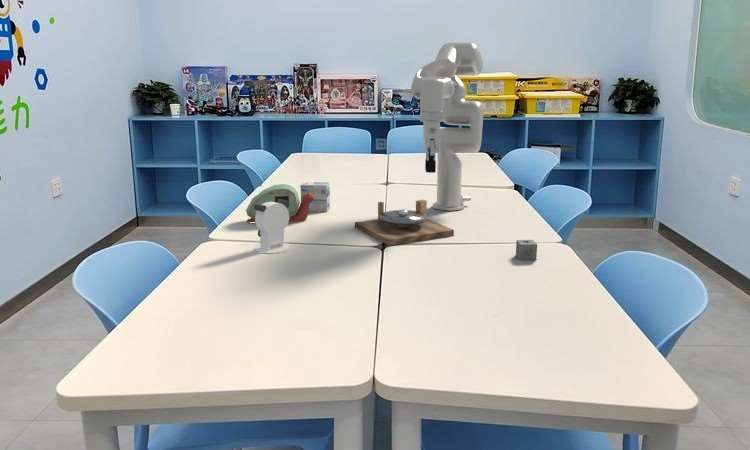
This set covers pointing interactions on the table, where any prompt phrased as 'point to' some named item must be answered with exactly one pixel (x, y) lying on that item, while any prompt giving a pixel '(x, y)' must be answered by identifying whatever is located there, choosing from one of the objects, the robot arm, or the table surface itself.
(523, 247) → the dice cube
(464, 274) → the table surface
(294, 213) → the toy snail
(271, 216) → the white mount stand
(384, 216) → the flange plate
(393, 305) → the table surface
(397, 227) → the pivot base
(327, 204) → the light bulb box
